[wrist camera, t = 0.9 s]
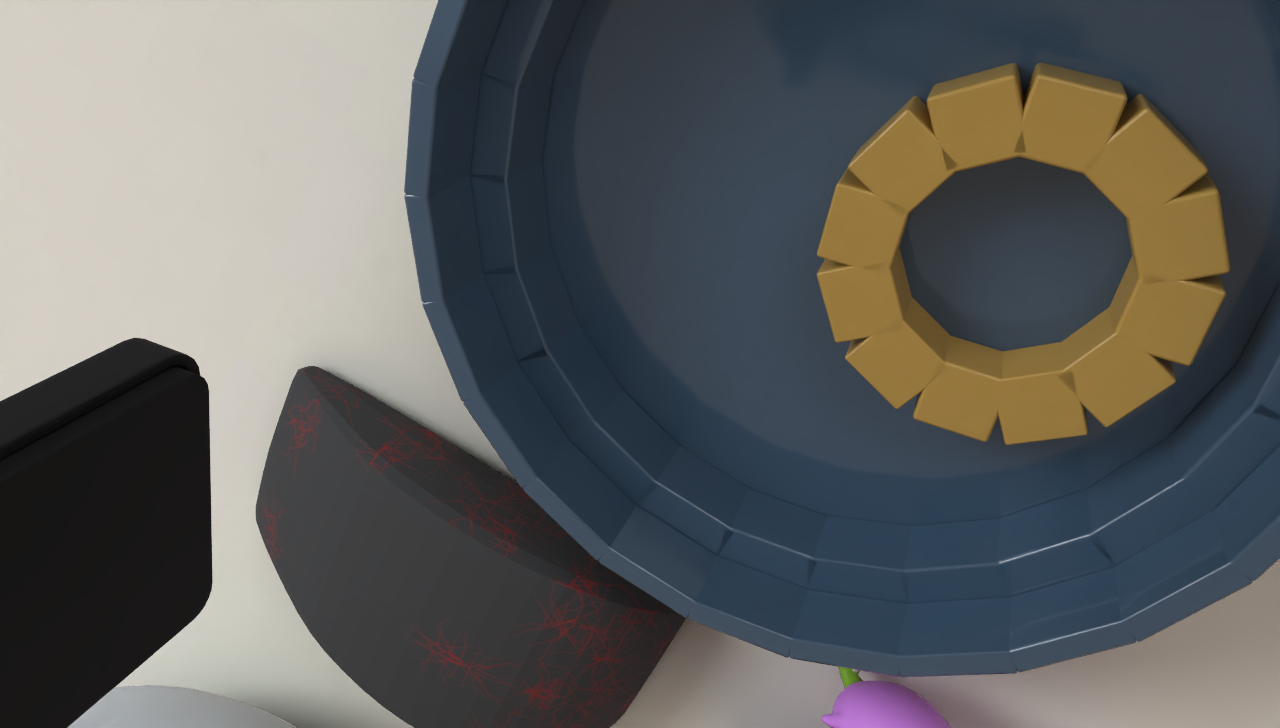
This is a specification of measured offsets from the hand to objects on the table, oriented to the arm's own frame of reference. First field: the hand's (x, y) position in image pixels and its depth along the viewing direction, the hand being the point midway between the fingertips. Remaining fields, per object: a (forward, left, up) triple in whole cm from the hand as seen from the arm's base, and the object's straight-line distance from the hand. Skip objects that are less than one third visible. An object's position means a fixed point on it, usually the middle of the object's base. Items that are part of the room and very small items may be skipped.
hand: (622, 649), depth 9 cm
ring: (0, +3, -16) cm, 16 cm away
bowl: (0, 0, -16) cm, 16 cm away
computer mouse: (+14, -9, -17) cm, 23 cm away
